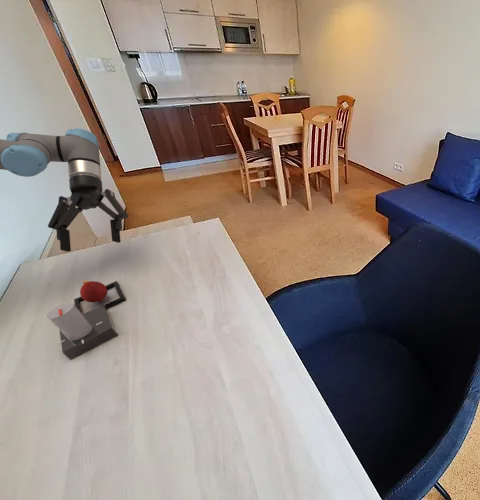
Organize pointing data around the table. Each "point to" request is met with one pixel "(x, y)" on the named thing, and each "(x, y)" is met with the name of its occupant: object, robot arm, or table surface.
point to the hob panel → (91, 333)
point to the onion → (93, 291)
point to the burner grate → (108, 305)
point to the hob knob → (70, 321)
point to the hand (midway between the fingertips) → (91, 246)
